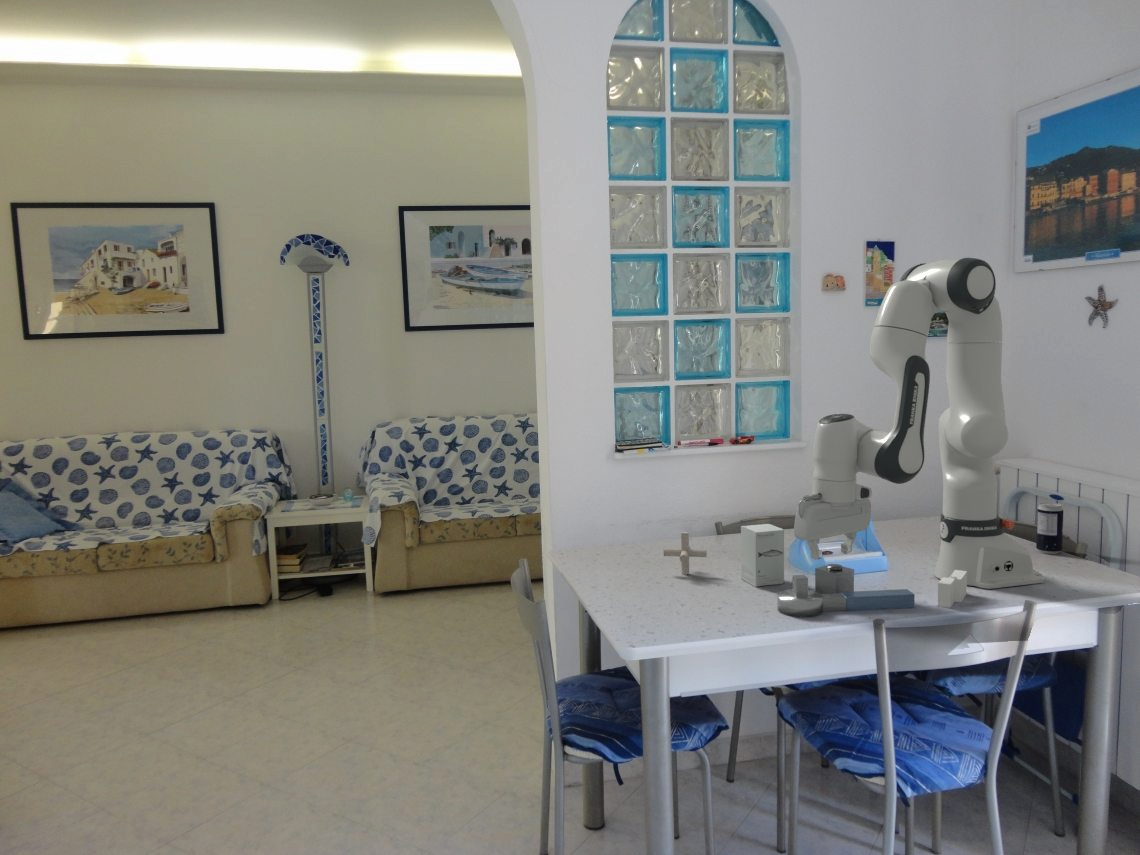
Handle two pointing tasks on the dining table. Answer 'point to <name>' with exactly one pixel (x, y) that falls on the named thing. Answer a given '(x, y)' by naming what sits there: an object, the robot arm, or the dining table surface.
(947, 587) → the notched white block
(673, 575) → the dining table surface
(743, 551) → the supplement box
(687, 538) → the pipe connector
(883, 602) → the ratchet
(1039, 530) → the beverage can
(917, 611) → the dining table surface
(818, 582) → the dark grey block
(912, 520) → the dining table surface
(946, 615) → the dining table surface
